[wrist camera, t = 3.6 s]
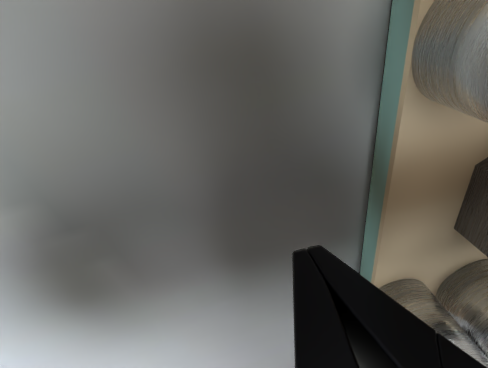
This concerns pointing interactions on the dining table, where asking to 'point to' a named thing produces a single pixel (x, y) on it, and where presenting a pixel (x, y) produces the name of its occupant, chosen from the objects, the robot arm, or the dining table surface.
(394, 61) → the board
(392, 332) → the robot arm
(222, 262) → the dining table surface
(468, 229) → the nut
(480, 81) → the spacers
